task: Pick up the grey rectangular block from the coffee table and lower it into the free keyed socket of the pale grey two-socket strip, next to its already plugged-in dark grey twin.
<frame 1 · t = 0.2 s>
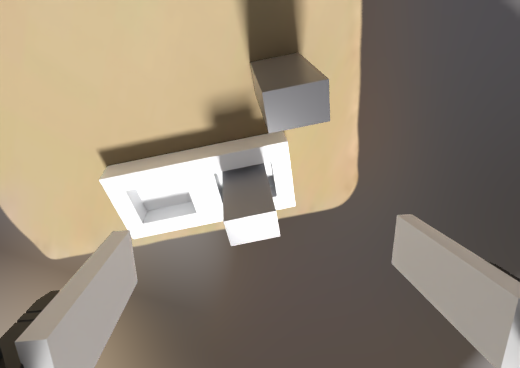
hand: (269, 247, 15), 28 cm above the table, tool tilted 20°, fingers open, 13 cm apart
grey rectangular block: (276, 74, 37), on the table
socket strip: (205, 180, 45), on the table
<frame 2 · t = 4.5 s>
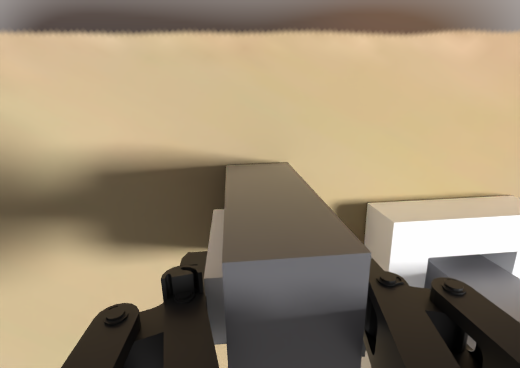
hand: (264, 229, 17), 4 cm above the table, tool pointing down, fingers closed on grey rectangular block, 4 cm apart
grey rectangular block: (258, 207, 20), on the table, touching gripper
socket strip: (419, 341, 25), on the table
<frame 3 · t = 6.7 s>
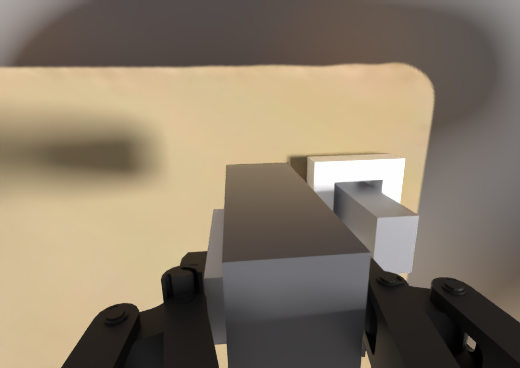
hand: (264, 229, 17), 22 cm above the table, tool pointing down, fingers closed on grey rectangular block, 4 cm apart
grey rectangular block: (258, 207, 20), point 18 cm above the table, touching gripper
socket strip: (343, 243, 42), on the table
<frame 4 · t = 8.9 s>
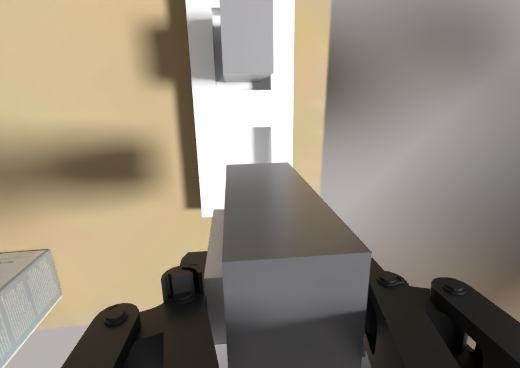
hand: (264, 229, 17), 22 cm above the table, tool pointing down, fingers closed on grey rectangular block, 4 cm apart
grey rectangular block: (258, 206, 20), point 19 cm above the table, touching gripper
socket strip: (242, 108, 36), on the table
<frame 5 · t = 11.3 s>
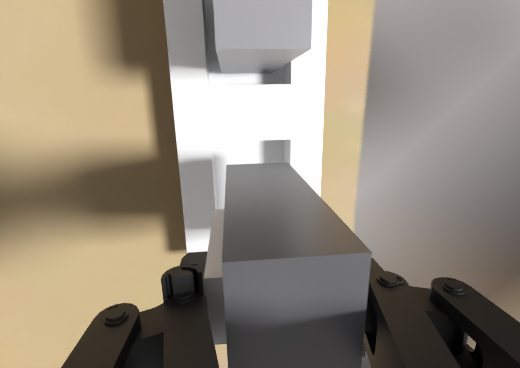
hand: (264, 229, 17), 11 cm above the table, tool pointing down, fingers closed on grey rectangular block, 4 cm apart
grey rectangular block: (258, 207, 20), point 7 cm above the table, touching gripper
socket strip: (247, 111, 25), on the table
when the fingers open (5 cm above the table, at t = 13.4 s): grey rectangular block stays where it is, resting on socket strip.
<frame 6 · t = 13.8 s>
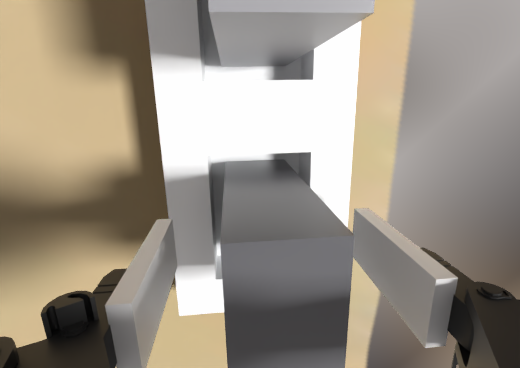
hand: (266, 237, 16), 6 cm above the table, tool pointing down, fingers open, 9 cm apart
grey rectangular block: (255, 202, 21), resting on socket strip
socket strip: (254, 115, 20), on the table
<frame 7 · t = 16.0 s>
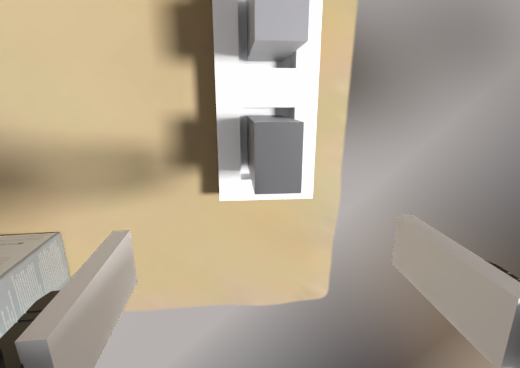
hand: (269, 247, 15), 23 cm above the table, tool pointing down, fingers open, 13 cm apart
grey rectangular block: (263, 140, 36), resting on socket strip
hard drive box: (6, 260, 38), on the table
socket strip: (264, 89, 35), on the table
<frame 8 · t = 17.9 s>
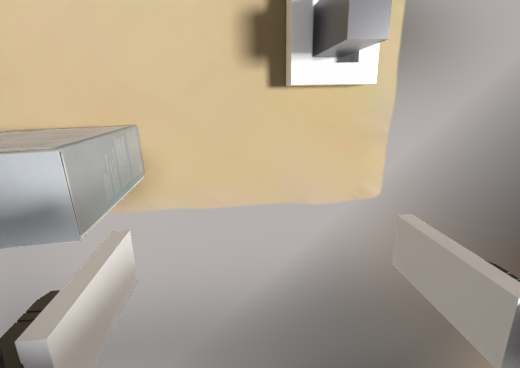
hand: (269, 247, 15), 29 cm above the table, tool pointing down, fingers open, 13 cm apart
grey rectangular block: (328, 32, 39), resting on socket strip
hard drive box: (85, 155, 40), on the table
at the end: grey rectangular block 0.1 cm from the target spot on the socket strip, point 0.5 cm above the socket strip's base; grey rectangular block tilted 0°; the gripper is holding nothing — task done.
